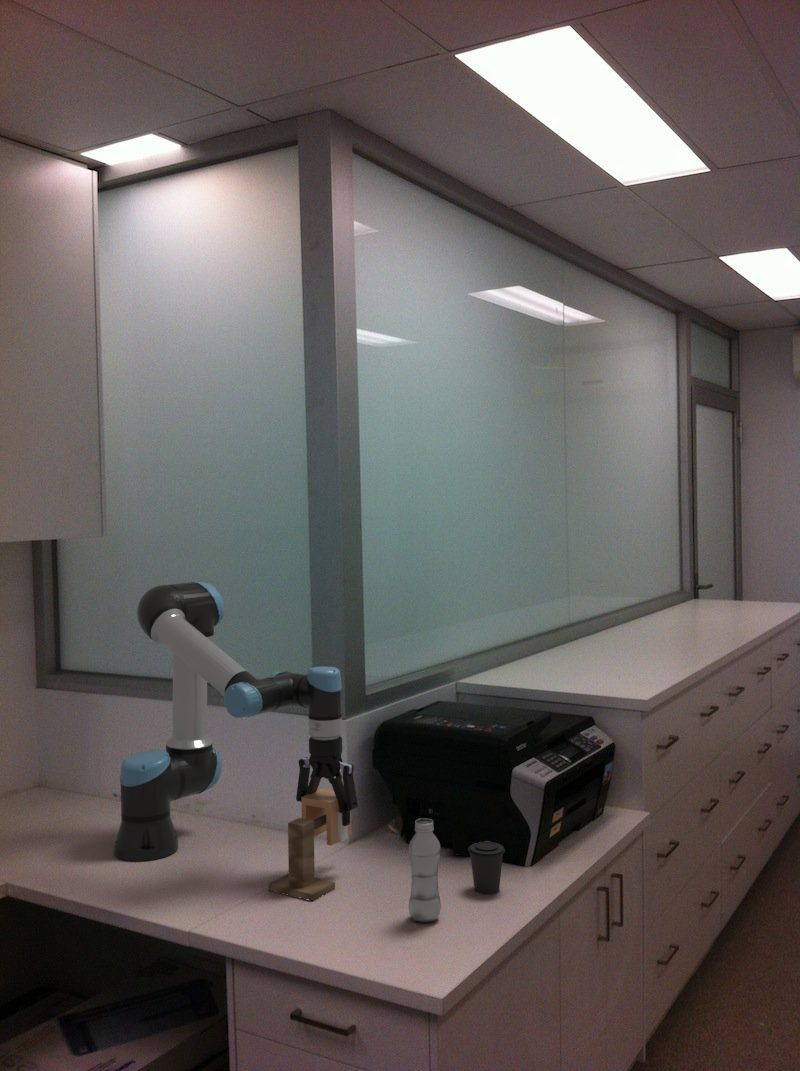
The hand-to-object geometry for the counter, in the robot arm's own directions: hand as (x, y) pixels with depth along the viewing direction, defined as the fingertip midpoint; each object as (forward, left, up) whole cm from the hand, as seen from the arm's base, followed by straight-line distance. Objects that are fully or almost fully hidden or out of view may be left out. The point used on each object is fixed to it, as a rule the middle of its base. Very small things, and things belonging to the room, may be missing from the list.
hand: (327, 836), depth 225 cm
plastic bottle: (+31, -9, -9) cm, 34 cm away
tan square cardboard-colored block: (0, 0, 0) cm, 0 cm away
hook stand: (0, -1, -9) cm, 9 cm away
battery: (+20, +30, -9) cm, 37 cm away
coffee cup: (+35, +11, -9) cm, 38 cm away
